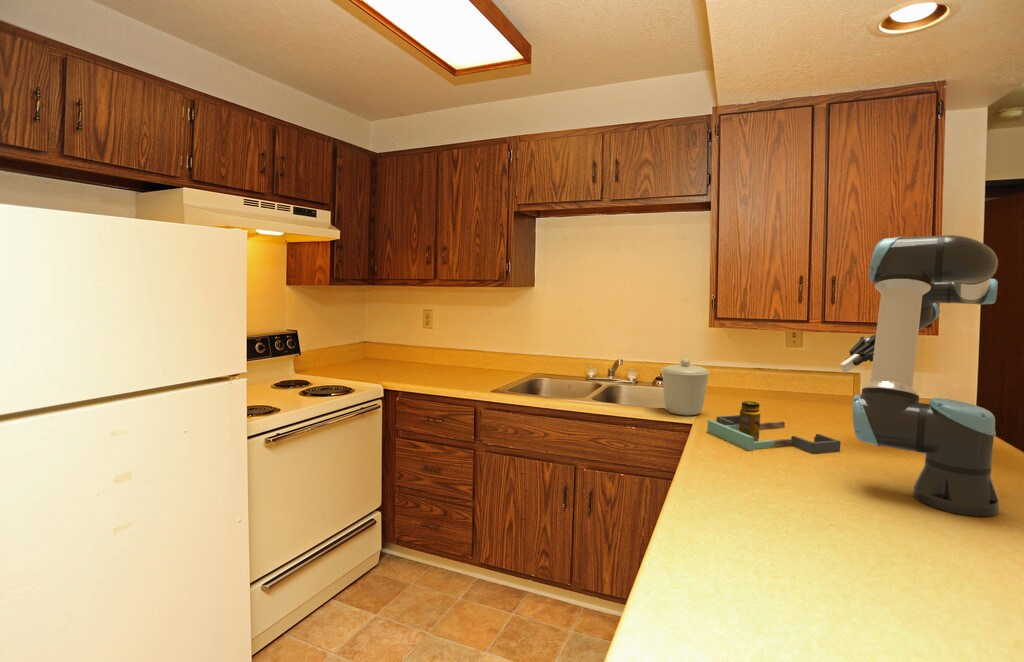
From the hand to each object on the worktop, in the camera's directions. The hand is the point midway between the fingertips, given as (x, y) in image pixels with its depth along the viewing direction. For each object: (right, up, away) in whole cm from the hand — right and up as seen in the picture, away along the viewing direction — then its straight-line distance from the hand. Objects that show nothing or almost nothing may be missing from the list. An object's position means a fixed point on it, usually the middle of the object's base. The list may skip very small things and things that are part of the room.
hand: (843, 368), depth 164 cm
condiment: (-26, -24, +8) cm, 36 cm away
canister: (-36, -20, +42) cm, 59 cm away
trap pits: (-17, -23, +10) cm, 30 cm away
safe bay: (-29, -23, +7) cm, 38 cm away
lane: (-15, -23, +11) cm, 30 cm away
